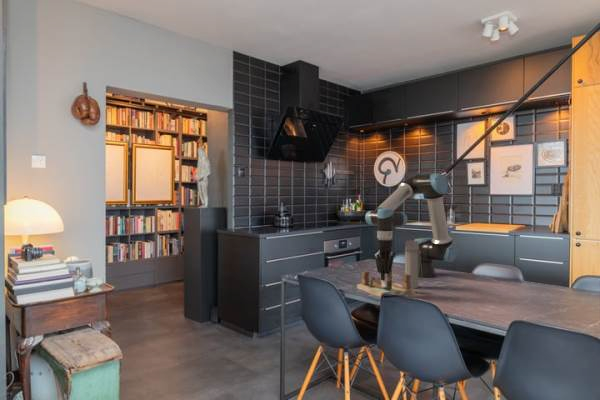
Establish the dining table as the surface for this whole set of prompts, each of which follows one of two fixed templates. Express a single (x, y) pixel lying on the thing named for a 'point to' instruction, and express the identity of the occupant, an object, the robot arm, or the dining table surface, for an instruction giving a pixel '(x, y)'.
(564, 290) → the dining table surface
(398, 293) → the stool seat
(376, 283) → the keeper leg
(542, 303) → the dining table surface
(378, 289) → the socket pad
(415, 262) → the water bottle
